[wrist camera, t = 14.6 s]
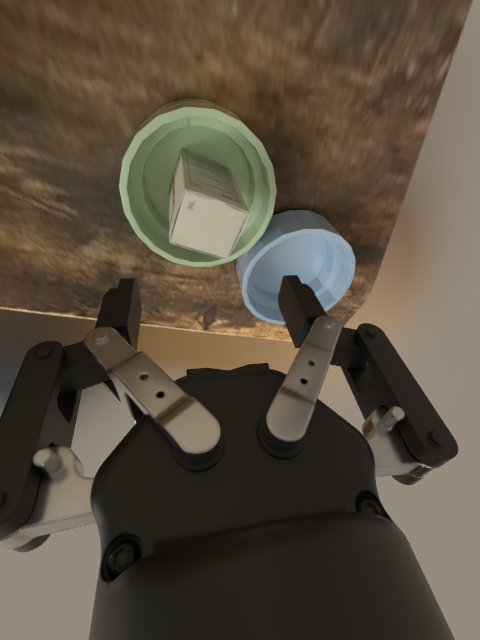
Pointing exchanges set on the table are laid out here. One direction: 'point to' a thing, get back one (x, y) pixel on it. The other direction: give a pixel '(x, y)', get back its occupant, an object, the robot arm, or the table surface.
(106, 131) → the table surface
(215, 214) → the skincare product carton
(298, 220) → the bowl right
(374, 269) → the table surface
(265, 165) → the bowl left
